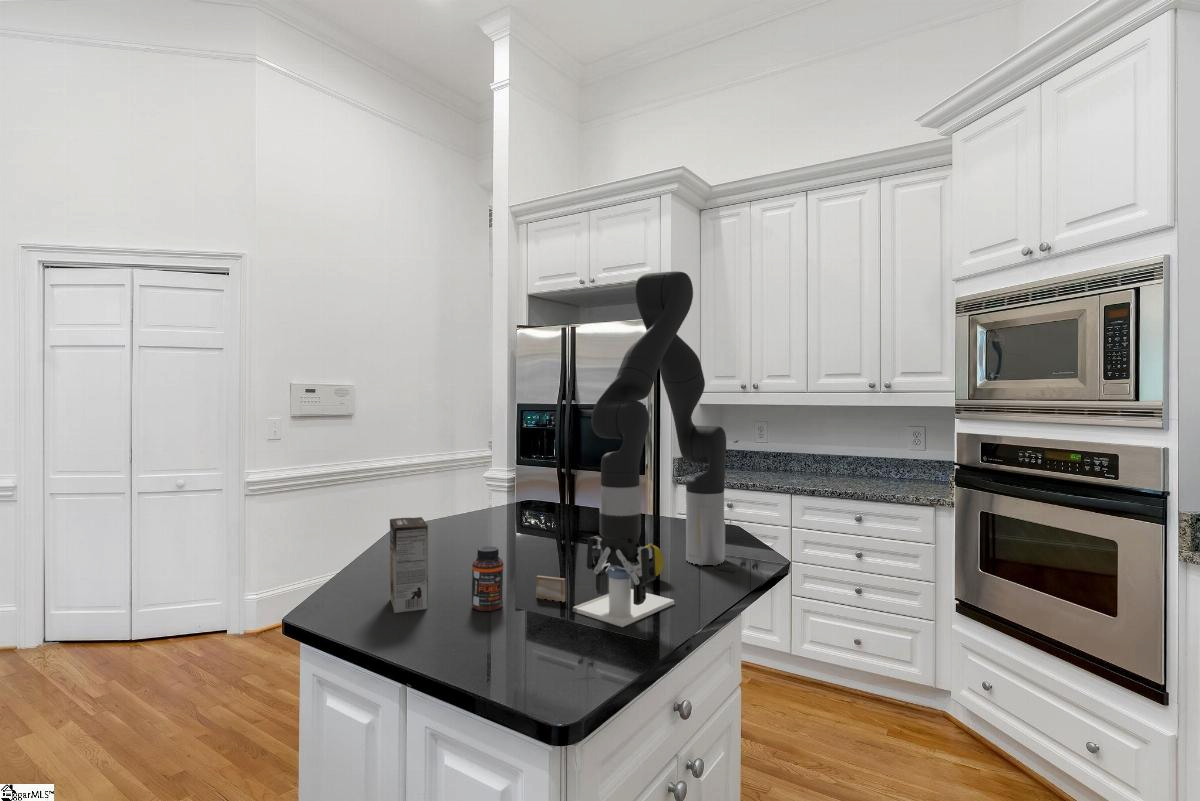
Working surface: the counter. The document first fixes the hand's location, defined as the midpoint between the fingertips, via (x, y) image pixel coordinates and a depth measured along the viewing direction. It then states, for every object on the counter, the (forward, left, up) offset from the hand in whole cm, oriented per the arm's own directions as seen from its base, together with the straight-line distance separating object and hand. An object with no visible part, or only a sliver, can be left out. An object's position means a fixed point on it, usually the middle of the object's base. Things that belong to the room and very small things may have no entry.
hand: (620, 598), depth 113 cm
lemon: (-23, -10, -4) cm, 25 cm away
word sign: (+1, -17, -4) cm, 17 cm away
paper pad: (-5, -3, -4) cm, 7 cm away
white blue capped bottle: (0, 0, -3) cm, 3 cm away
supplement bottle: (+12, -23, -4) cm, 26 cm away
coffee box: (+21, -36, -4) cm, 42 cm away
